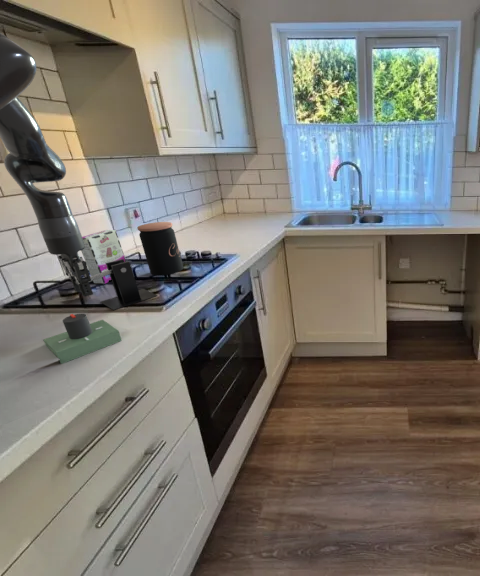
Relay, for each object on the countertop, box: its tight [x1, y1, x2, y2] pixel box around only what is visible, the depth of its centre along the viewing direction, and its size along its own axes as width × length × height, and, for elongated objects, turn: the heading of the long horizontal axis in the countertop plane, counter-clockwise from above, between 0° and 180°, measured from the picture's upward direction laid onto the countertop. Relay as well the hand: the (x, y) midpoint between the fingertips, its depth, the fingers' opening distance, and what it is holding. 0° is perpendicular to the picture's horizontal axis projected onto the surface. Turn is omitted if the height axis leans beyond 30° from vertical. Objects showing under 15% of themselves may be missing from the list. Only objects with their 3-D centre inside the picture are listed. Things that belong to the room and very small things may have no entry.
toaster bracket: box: [100, 259, 158, 311], centre depth 108 cm, size 12×10×13 cm
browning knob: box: [62, 313, 93, 339], centre depth 85 cm, size 4×4×5 cm
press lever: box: [74, 262, 122, 285], centre depth 103 cm, size 12×5×2 cm, turn 144°
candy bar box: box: [81, 229, 127, 285], centre depth 127 cm, size 11×5×16 cm, turn 170°
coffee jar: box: [136, 221, 184, 277], centre depth 130 cm, size 11×11×18 cm
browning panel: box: [42, 319, 122, 365], centre depth 87 cm, size 12×10×3 cm
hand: (84, 292), depth 100 cm, fingers closed on press lever, 5 cm apart
